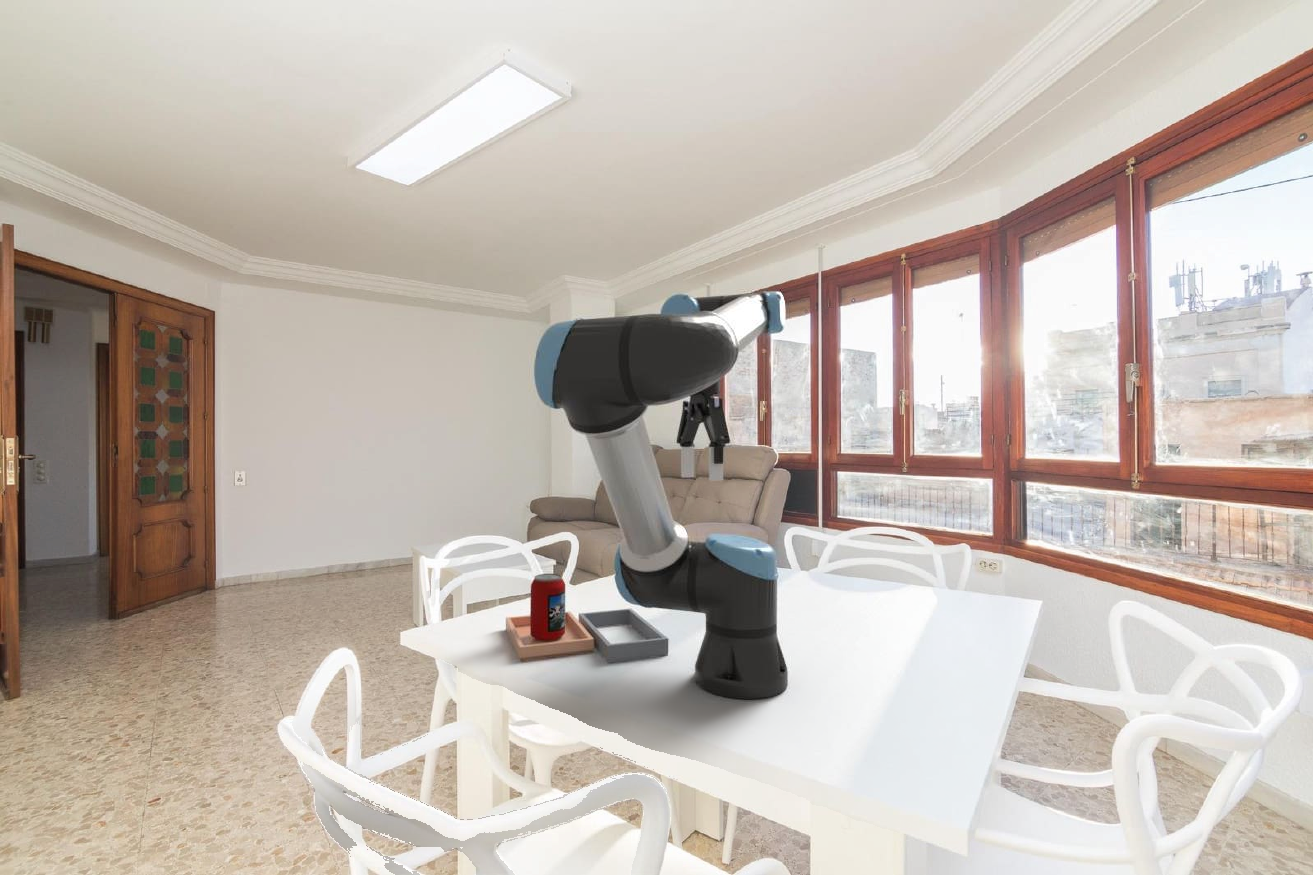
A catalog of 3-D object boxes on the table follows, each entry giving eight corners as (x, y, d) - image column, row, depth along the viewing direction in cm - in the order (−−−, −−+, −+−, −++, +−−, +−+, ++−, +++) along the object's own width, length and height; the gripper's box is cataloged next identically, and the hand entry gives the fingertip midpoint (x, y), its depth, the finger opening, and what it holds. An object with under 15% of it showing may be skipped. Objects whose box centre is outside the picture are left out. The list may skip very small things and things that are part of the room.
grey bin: (668, 655, 111) (668, 638, 111) (607, 662, 107) (607, 645, 107) (630, 622, 131) (630, 608, 131) (578, 627, 127) (578, 613, 127)
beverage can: (561, 643, 115) (562, 580, 115) (526, 642, 115) (527, 580, 115) (567, 632, 122) (568, 572, 122) (534, 631, 122) (535, 572, 122)
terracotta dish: (593, 652, 112) (593, 639, 112) (519, 661, 107) (519, 647, 107) (570, 622, 130) (570, 611, 130) (505, 629, 125) (505, 617, 125)
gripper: (748, 369, 113) (747, 482, 113) (693, 381, 136) (692, 475, 136) (712, 367, 110) (711, 483, 110) (662, 380, 134) (661, 476, 133)
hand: (701, 479), depth 123 cm, fingers open, 13 cm apart
